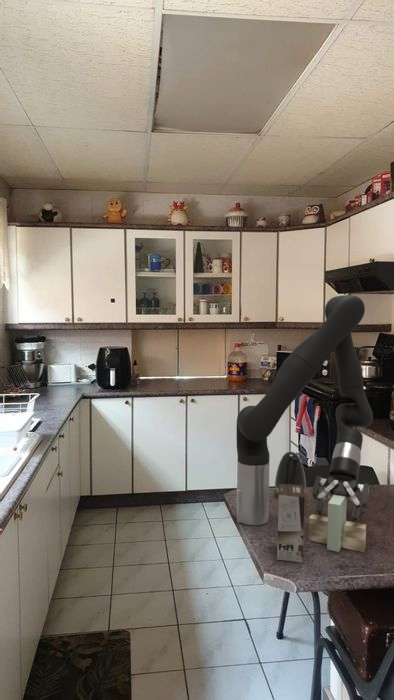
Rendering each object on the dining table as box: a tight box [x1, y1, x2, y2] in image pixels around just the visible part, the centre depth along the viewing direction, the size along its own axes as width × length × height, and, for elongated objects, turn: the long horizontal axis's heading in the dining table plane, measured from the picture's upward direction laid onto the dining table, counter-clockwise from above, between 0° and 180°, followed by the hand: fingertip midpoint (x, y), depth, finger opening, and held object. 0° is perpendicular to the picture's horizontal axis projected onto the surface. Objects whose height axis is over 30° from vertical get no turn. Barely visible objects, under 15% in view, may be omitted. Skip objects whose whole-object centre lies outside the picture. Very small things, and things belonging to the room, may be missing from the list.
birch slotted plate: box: [308, 513, 367, 553], centre depth 121 cm, size 14×3×6 cm, turn 62°
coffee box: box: [276, 484, 306, 563], centre depth 116 cm, size 9×6×16 cm
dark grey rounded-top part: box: [274, 451, 307, 493], centre depth 155 cm, size 10×10×15 cm
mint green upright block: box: [326, 494, 348, 553], centre depth 121 cm, size 9×3×12 cm, turn 152°
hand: (336, 517), depth 120 cm, fingers open, 8 cm apart
